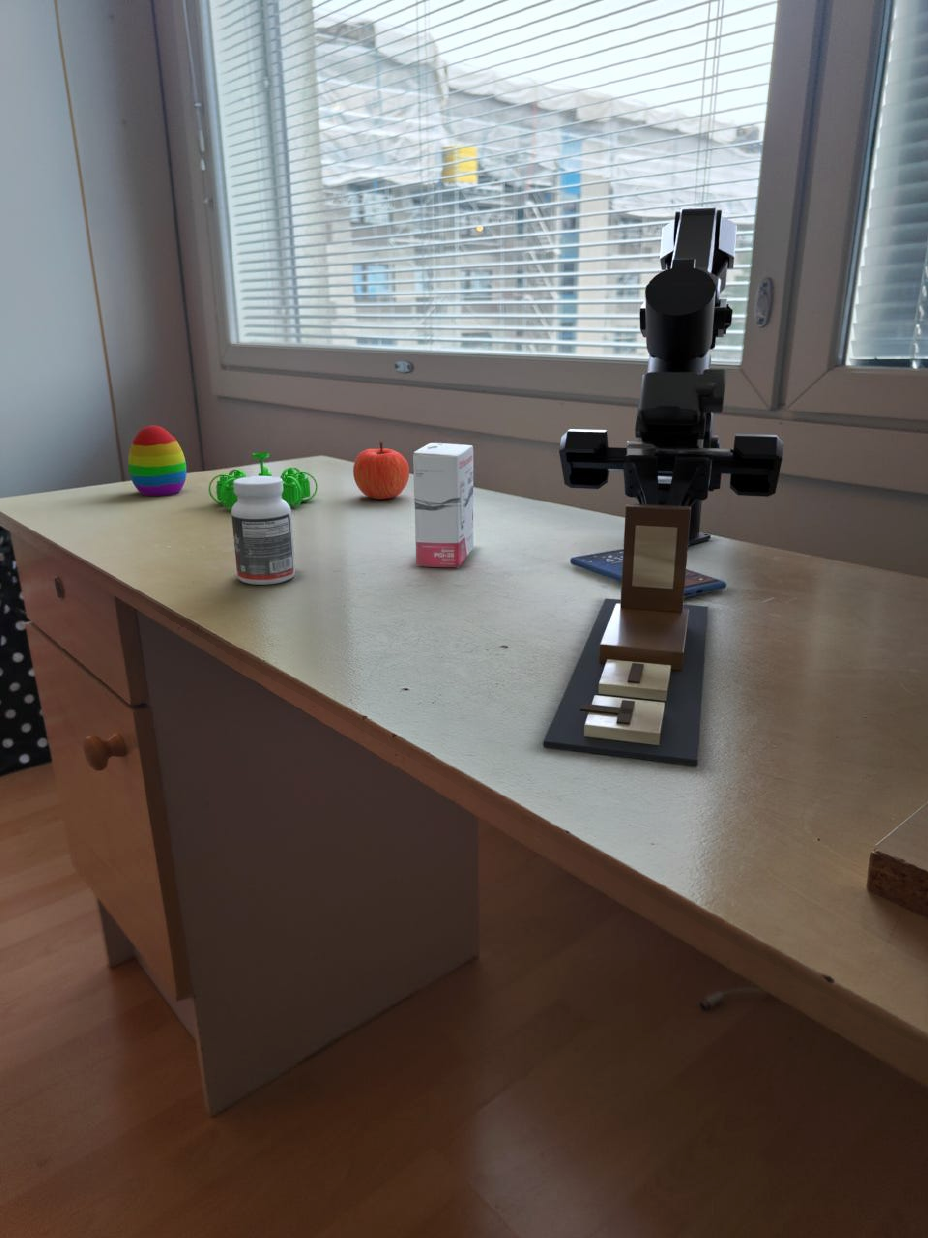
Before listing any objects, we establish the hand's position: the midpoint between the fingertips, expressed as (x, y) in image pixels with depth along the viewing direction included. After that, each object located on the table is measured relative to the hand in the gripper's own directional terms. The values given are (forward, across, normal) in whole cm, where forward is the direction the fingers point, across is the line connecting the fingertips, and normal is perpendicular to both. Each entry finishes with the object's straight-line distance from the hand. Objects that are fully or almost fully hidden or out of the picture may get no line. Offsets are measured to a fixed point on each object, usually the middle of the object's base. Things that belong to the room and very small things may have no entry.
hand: (658, 544), depth 73 cm
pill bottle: (+4, -38, +6) cm, 39 cm away
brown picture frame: (+10, 0, -2) cm, 10 cm away
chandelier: (-20, -57, +30) cm, 67 cm away
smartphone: (-3, -2, +12) cm, 13 cm away
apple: (-26, -42, +35) cm, 61 cm away
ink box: (-5, -23, +14) cm, 28 cm away
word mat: (+13, 0, -4) cm, 14 cm away
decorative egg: (-22, -76, +32) cm, 85 cm away
